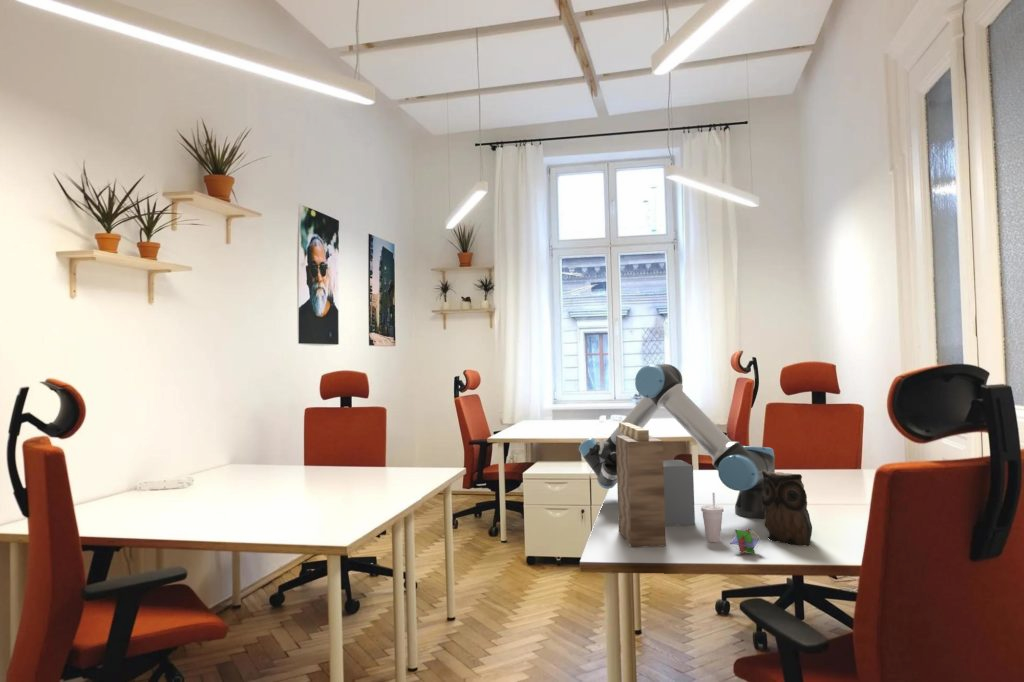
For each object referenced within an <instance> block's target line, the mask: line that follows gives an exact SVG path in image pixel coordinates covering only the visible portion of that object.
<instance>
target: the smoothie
mask: <svg viewBox="0 0 1024 682" xmlns="http://www.w3.org/2000/svg"><path fill="white" fill-rule="evenodd" d="M715 497H716V496H715V492H712V505H710V504H707V505H702V506H700V507H701V508H700V511H701V512H702V519H703V525H704V532H705V536H706V537H705V538H706V541H707V542H709V543H719V541H720V542H721V536H722V535H721V533H722V532H721V531H722V523H723V522H722V521H723V512H724V507H723V506H720V505H716V499H715Z"/></svg>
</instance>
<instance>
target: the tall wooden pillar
mask: <svg viewBox="0 0 1024 682" xmlns="http://www.w3.org/2000/svg"><path fill="white" fill-rule="evenodd" d="M616 453H617V483H616V485H617V516H618V519H617V520H618V522H617V523H618V532H620V533H621V534H622V535H623V536H622V535H621V534H620V533H619V534H620V535H621V536H622V538H623V539H624V538H625V539H626V540H627V541H626V540H625V539H624V540H625V541H626V542H627V543H628V544H630V545H631V546H630V545H629V546H630V547H631V548H643V547H644V546H651V547H666V546H667V538H666V537H667V536H666V526H665V498H664V467H663V460H664V444H663V440H661V439H658V438H656V437H654V436H652V435H649V441H638V440H636V439H634V438H632V437H630V436H627V435H620V436H616ZM642 546H643V547H642Z"/></svg>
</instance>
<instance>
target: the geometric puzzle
mask: <svg viewBox="0 0 1024 682" xmlns="http://www.w3.org/2000/svg"><path fill="white" fill-rule="evenodd" d="M733 534H735V537H734V538H732V539H731V541H730V542H729V544H730V545H731V546H734V549H735V548H736V549H737V547H736V546H738V548H739V549H738V550H739V551H738V552H740V551H741V552H740V556H744V555H746V553H747V554H748V553H749V554H756V551H757V550H755V547H756V546H758V545H757V544H759V542H760V540H761V539H760V537H759V536H758V534H757V533H756V532H755V531H754V530H752V529H750V528H749V527H748V528H747V527H746V529H745V530H741V529H735V530H734V533H733ZM735 545H736V546H735Z"/></svg>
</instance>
